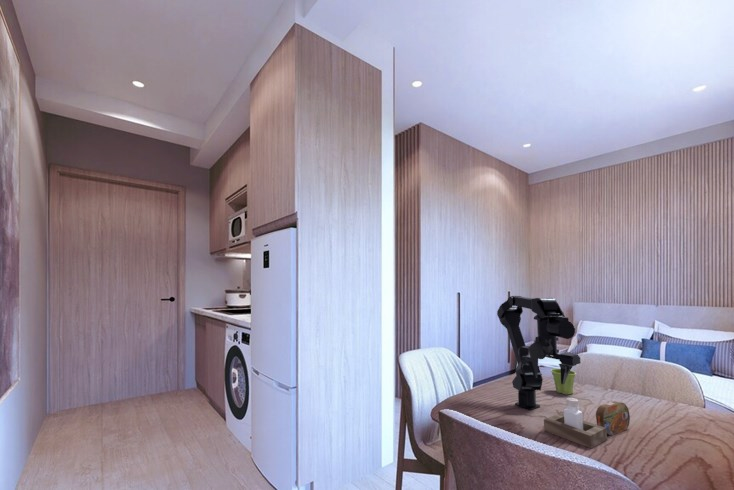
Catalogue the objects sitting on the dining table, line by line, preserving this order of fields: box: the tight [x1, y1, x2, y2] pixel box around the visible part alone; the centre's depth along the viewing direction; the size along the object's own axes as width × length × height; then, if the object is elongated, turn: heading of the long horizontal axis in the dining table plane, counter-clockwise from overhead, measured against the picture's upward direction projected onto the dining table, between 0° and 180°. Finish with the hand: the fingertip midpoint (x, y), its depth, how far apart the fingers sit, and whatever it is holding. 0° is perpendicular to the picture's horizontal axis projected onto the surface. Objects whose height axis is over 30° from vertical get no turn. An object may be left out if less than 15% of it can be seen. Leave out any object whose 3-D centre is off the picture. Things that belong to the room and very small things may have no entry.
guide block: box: [543, 412, 608, 449], centre depth 103 cm, size 10×13×3 cm
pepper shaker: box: [563, 397, 584, 430], centre depth 103 cm, size 4×4×10 cm
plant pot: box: [550, 368, 577, 395], centre depth 144 cm, size 9×9×9 cm
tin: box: [595, 400, 631, 436], centre depth 107 cm, size 15×3×8 cm, turn 117°
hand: (548, 380), depth 115 cm, fingers open, 9 cm apart
